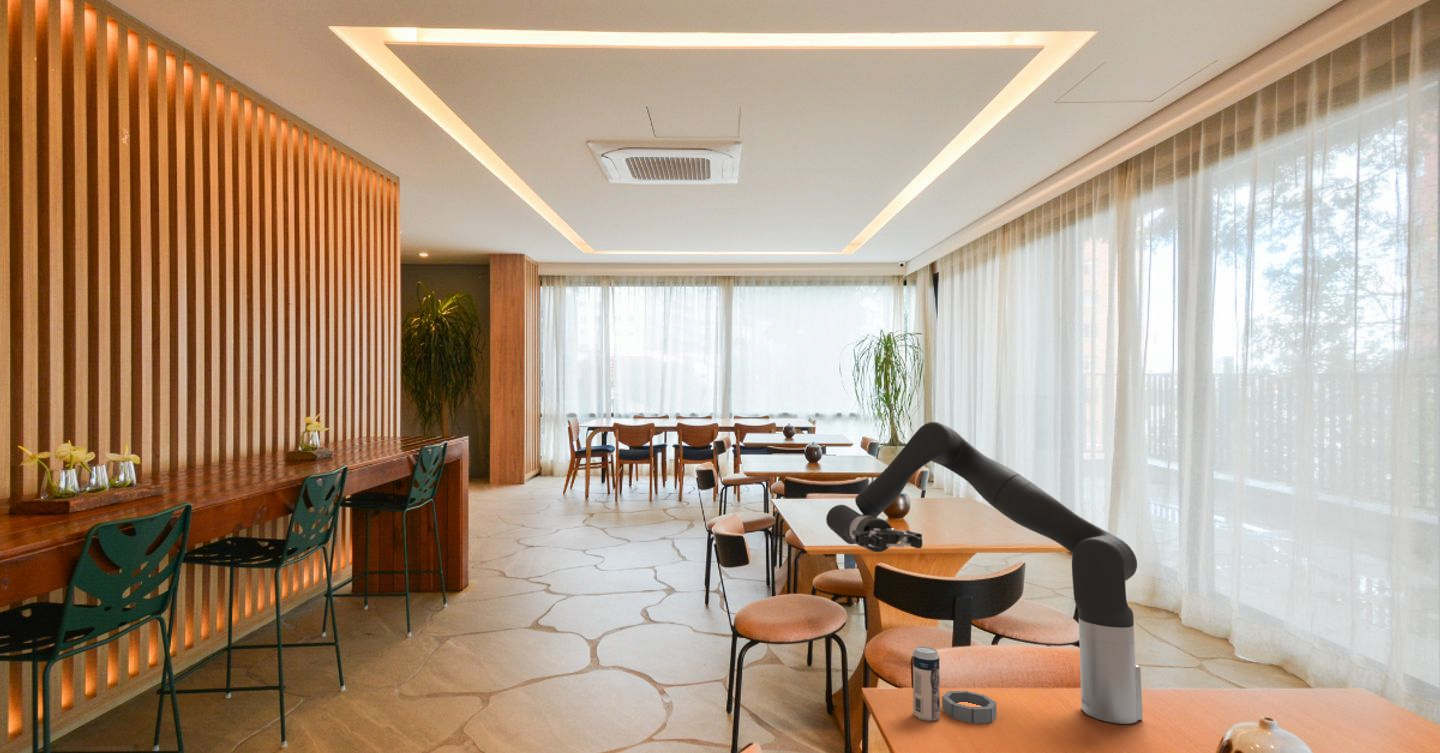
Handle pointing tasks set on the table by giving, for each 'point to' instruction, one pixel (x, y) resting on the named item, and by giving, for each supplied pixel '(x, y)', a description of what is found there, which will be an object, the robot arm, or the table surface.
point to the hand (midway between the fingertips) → (900, 543)
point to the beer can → (926, 684)
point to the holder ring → (969, 713)
